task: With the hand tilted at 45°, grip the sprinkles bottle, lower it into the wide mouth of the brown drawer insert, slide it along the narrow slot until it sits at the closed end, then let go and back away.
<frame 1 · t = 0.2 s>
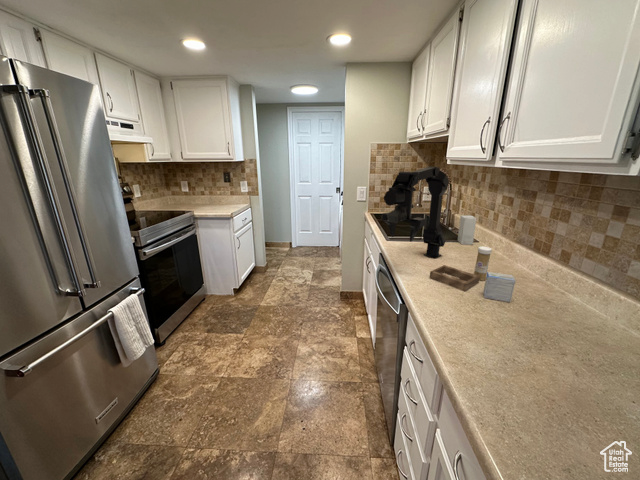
hand: (401, 238, 113), 15 cm above the worktop, tool pointing down, fingers open, 9 cm apart
medicine box: (496, 298, 94), on the worktop
skincare box: (464, 242, 154), on the worktop
sprinkles bottle: (479, 279, 109), on the worktop
brown drawer insert: (461, 283, 105), on the worktop
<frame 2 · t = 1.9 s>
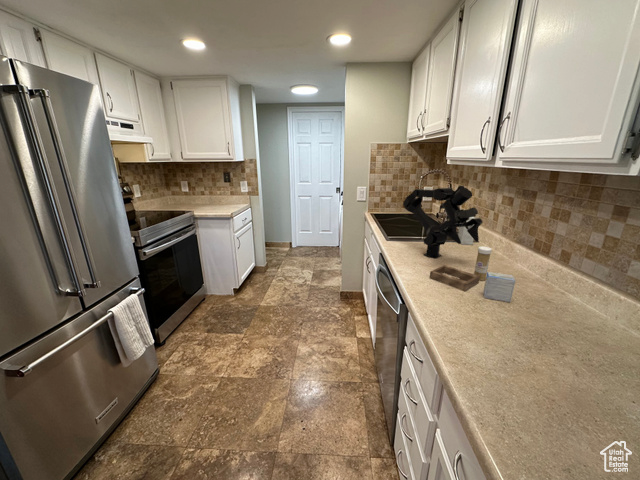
hand: (468, 242, 111), 13 cm above the worktop, tool tilted 45°, fingers open, 9 cm apart
nothing on the worktop moved.
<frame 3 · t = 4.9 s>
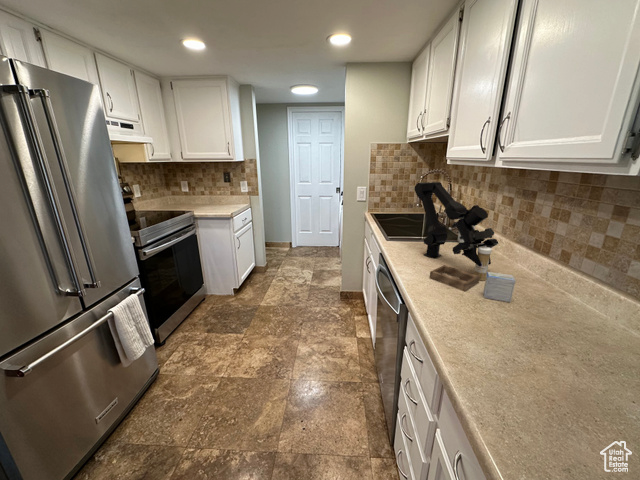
hand: (485, 265, 105), 7 cm above the worktop, tool tilted 45°, fingers closed on sprinkles bottle, 4 cm apart
sprinkles bottle: (479, 279, 109), on the worktop, touching gripper
everything else where it was.
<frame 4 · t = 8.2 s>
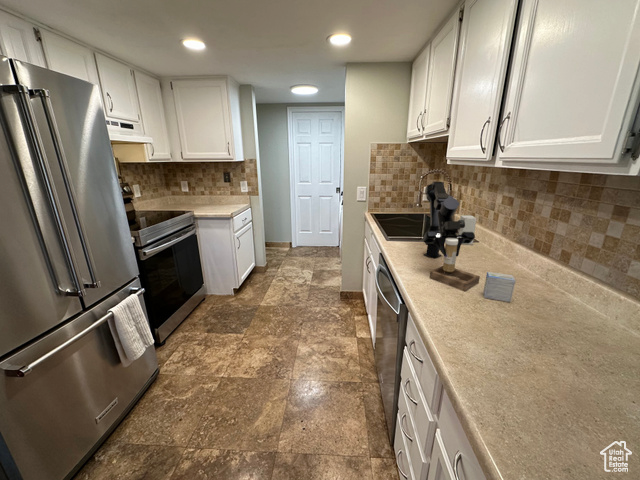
hand: (451, 256, 105), 10 cm above the worktop, tool tilted 45°, fingers closed on sprinkles bottle, 4 cm apart
sprinkles bottle: (448, 270, 108), point 3 cm above the worktop, touching gripper
everything else where it was.
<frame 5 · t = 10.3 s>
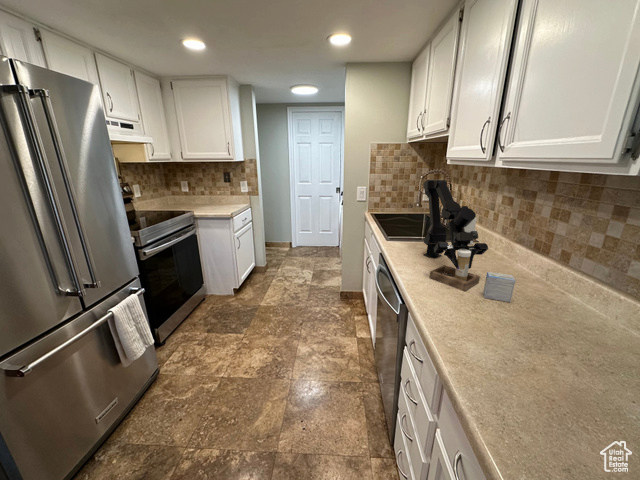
hand: (463, 268, 102), 7 cm above the worktop, tool tilted 45°, fingers closed on sprinkles bottle, 4 cm apart
sprinkles bottle: (460, 282, 105), resting in brown drawer insert, touching gripper
everything else where it was.
when the fingers open (7 cm above the worktop, at t = 11.6 s): sprinkles bottle stays where it is, resting in brown drawer insert.
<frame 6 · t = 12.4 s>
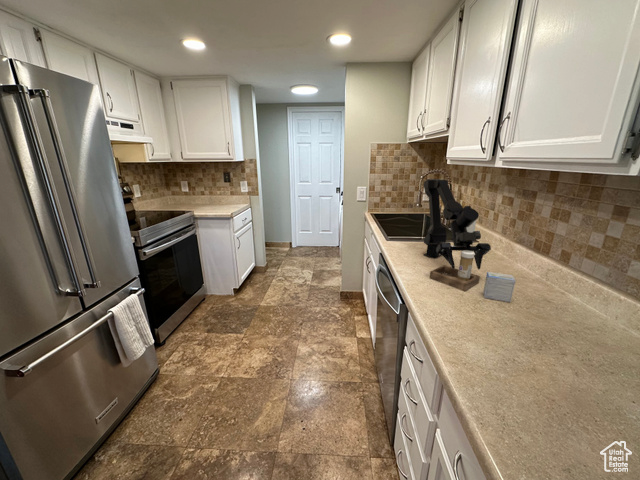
hand: (466, 268, 101), 7 cm above the worktop, tool tilted 45°, fingers open, 9 cm apart
sprinkles bottle: (462, 283, 105), resting in brown drawer insert
everything else where it was.
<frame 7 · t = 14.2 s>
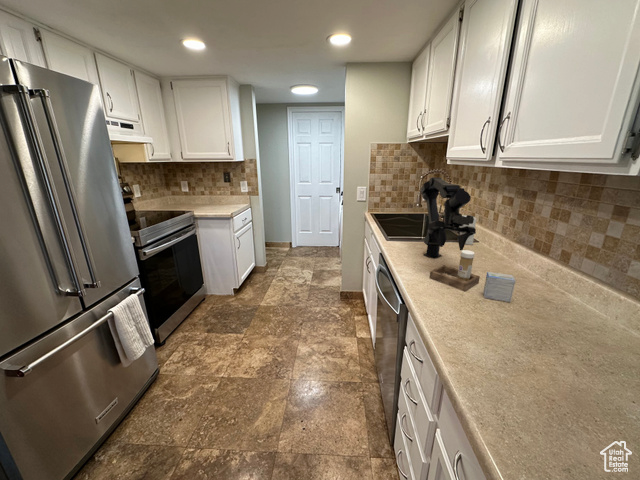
hand: (451, 248, 108), 12 cm above the worktop, tool tilted 30°, fingers open, 9 cm apart
nothing on the worktop moved.
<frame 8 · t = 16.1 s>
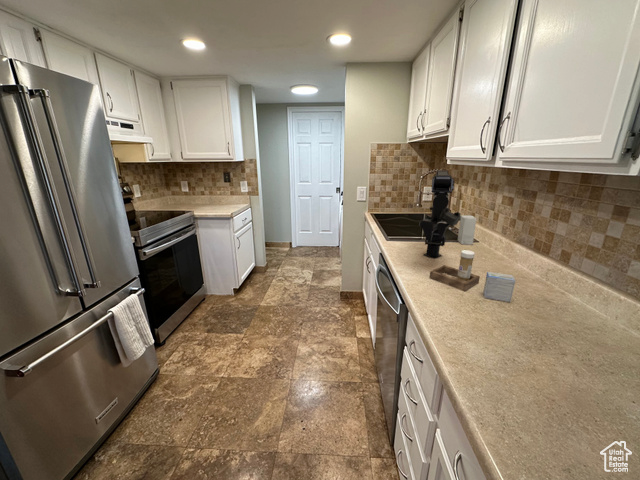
hand: (435, 240, 116), 13 cm above the worktop, tool pointing down, fingers open, 9 cm apart
nothing on the worktop moved.
at the end: sprinkles bottle 0.5 cm off-centre on the brown drawer insert, point 0.0 cm above the brown drawer insert's base; sprinkles bottle tilted 0°; the gripper is holding nothing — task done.
